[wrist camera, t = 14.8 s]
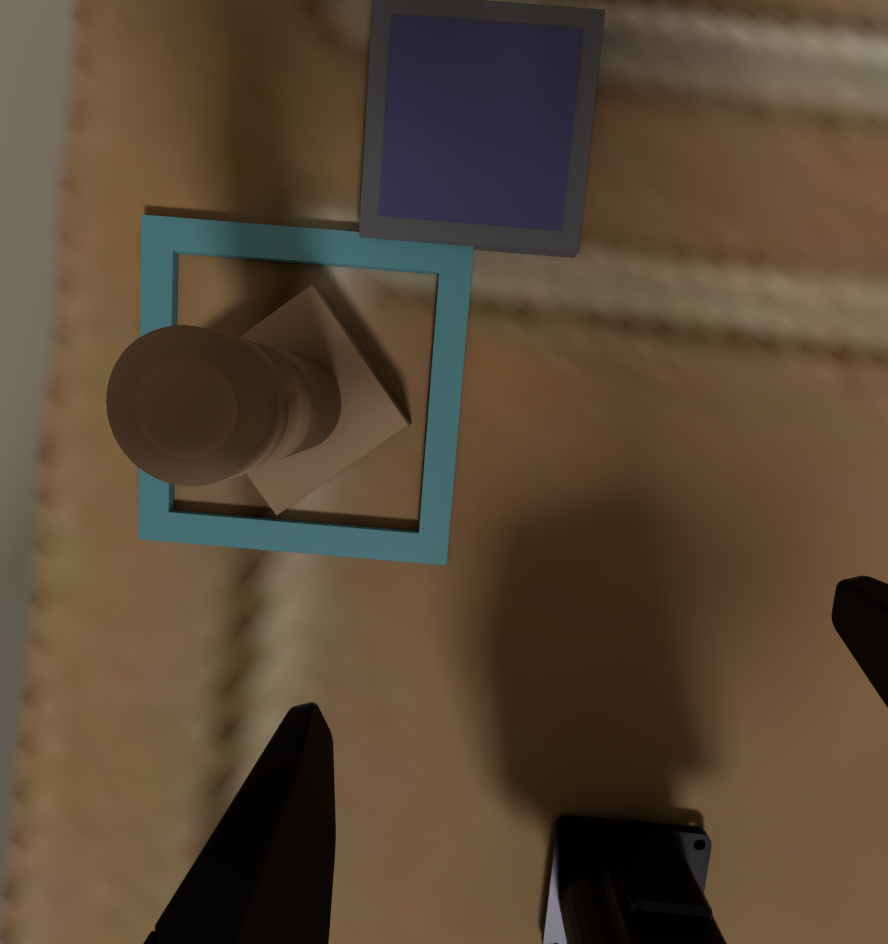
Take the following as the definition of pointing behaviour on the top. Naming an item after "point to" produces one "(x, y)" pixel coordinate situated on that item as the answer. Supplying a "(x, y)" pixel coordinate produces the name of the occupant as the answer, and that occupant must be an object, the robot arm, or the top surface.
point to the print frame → (454, 270)
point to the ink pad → (479, 124)
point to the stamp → (252, 402)
